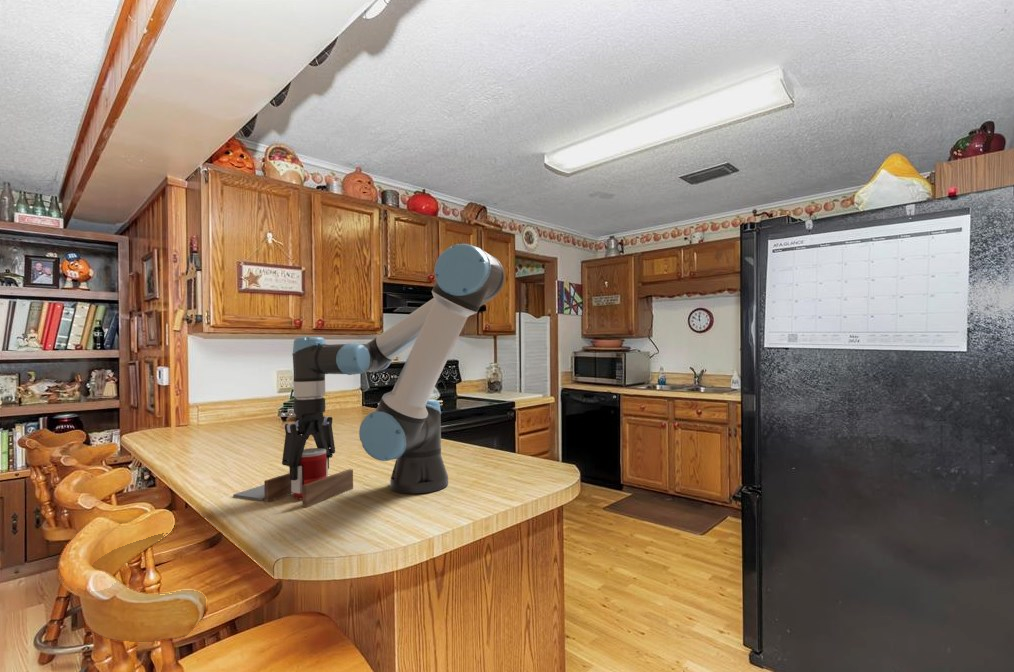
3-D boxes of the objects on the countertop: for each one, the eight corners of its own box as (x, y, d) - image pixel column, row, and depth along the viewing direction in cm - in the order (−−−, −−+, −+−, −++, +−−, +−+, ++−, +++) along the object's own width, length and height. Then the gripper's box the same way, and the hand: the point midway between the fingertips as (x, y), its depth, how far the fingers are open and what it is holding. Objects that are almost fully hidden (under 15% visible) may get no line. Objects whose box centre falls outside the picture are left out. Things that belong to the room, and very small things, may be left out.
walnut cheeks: (353, 488, 129) (352, 469, 129) (306, 507, 114) (306, 485, 114) (314, 483, 134) (313, 465, 134) (264, 501, 119) (264, 480, 119)
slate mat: (294, 489, 129) (294, 487, 129) (262, 501, 120) (262, 498, 120) (266, 486, 133) (266, 484, 133) (233, 496, 123) (233, 494, 123)
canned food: (332, 490, 128) (331, 447, 128) (317, 499, 120) (316, 454, 120) (304, 489, 128) (303, 447, 129) (287, 499, 120) (287, 454, 121)
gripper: (327, 393, 136) (328, 476, 135) (264, 401, 116) (264, 498, 116) (349, 394, 133) (350, 478, 132) (287, 402, 113) (288, 501, 113)
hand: (310, 487), depth 124 cm, fingers closed on canned food, 8 cm apart
